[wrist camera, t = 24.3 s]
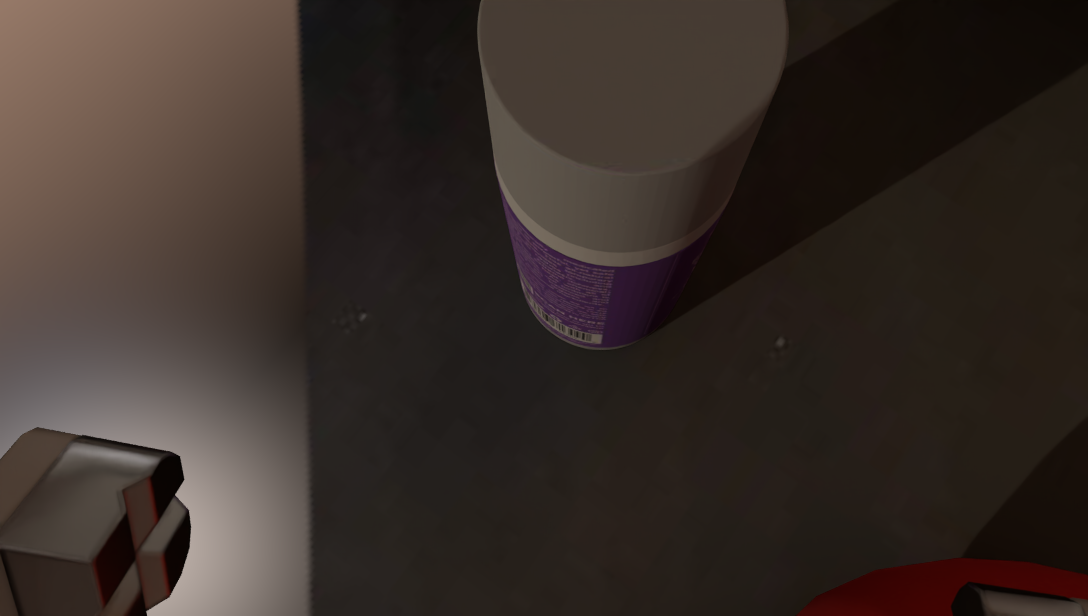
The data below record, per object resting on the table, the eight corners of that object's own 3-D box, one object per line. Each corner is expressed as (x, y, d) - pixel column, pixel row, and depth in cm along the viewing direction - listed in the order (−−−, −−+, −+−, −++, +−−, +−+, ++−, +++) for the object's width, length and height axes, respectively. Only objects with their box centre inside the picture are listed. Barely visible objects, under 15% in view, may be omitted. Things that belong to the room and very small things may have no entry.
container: (704, 324, 29) (845, 129, 14) (546, 370, 28) (519, 224, 14) (654, 173, 30) (737, -159, 15) (500, 218, 29) (430, -74, 15)
